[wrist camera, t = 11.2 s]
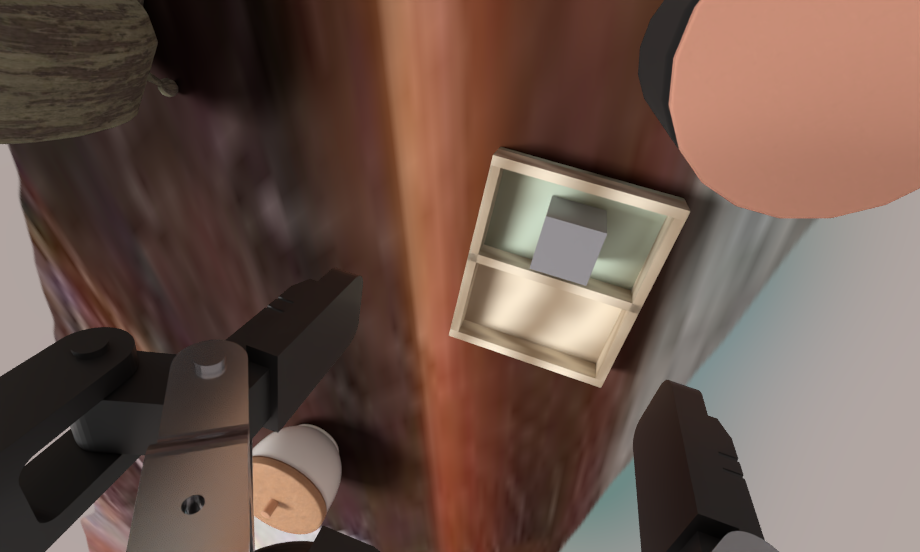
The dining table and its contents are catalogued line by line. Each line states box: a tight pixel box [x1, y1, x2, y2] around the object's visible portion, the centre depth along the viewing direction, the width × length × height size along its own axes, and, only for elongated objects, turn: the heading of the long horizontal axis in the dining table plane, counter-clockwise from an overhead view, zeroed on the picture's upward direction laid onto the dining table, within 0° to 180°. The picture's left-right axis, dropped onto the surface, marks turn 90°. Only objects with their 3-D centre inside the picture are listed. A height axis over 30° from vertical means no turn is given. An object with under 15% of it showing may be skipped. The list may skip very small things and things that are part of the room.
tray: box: [449, 147, 690, 388], centre depth 40 cm, size 15×18×3 cm
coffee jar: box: [638, 0, 920, 218], centre depth 23 cm, size 11×11×18 cm
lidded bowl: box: [253, 424, 342, 534], centre depth 58 cm, size 13×13×11 cm
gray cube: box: [529, 195, 607, 286], centre depth 36 cm, size 4×4×5 cm
